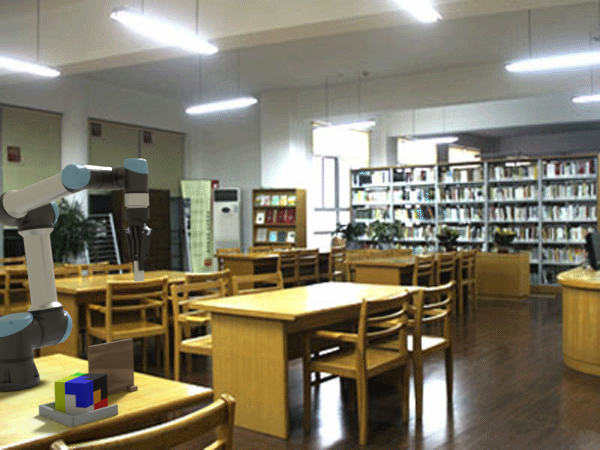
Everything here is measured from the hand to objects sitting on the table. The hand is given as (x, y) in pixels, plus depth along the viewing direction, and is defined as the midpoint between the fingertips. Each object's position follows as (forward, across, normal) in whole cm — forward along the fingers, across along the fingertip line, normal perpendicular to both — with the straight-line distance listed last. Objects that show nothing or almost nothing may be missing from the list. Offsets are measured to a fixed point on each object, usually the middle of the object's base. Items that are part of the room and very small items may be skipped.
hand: (139, 281), depth 198 cm
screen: (+34, +2, +9) cm, 36 cm away
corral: (+34, -8, +26) cm, 44 cm away
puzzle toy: (+35, -8, +25) cm, 44 cm away
